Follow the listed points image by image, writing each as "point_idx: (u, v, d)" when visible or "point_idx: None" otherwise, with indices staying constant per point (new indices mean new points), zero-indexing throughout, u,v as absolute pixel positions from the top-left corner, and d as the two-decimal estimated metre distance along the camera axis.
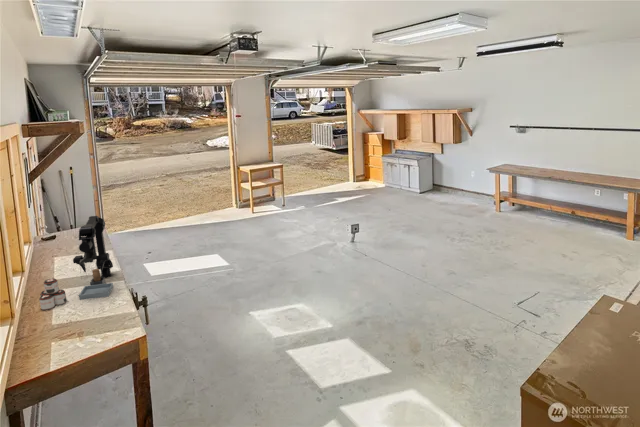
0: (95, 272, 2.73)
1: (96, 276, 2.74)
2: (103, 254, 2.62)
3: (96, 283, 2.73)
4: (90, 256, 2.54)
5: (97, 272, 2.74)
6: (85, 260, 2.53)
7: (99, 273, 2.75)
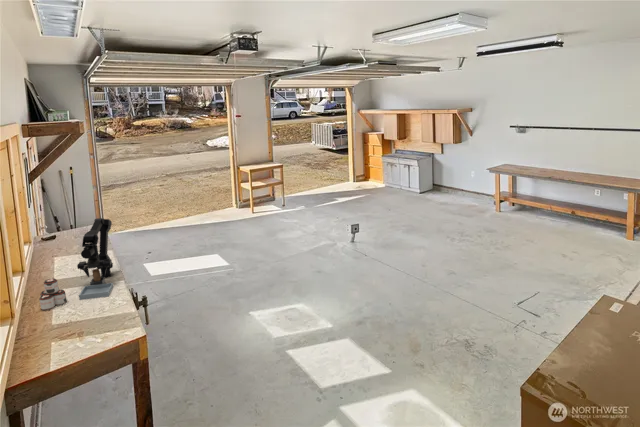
0: (95, 272, 2.73)
1: (96, 276, 2.74)
2: (106, 260, 2.75)
3: (96, 283, 2.73)
4: (93, 262, 2.67)
5: (97, 272, 2.74)
6: (89, 266, 2.65)
7: (99, 273, 2.75)
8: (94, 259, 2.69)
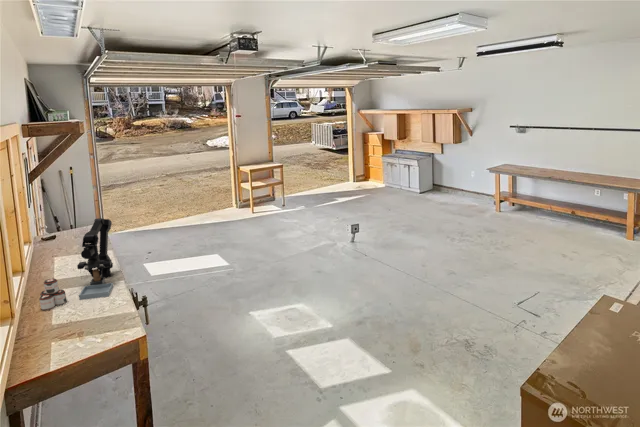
0: (95, 272, 2.73)
1: (96, 276, 2.74)
2: (106, 260, 2.75)
3: (96, 283, 2.73)
4: (93, 262, 2.67)
5: (97, 272, 2.74)
6: (89, 266, 2.65)
7: (99, 273, 2.75)
8: (94, 259, 2.69)
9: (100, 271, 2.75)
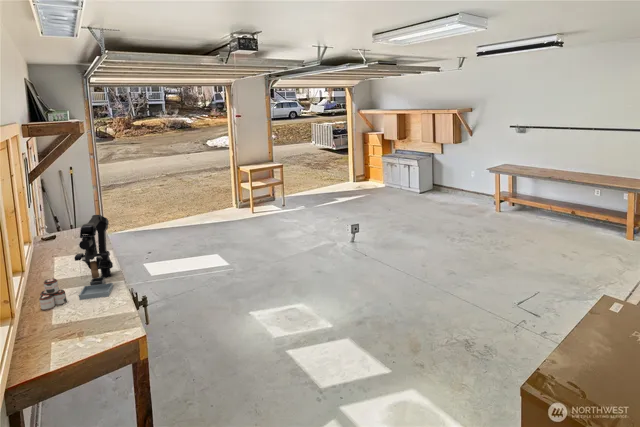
0: (93, 264, 2.67)
1: (94, 268, 2.68)
2: (104, 252, 2.69)
3: (96, 283, 2.73)
4: (91, 253, 2.61)
5: (95, 264, 2.68)
6: (86, 257, 2.60)
7: None
8: (92, 251, 2.63)
9: (98, 263, 2.69)
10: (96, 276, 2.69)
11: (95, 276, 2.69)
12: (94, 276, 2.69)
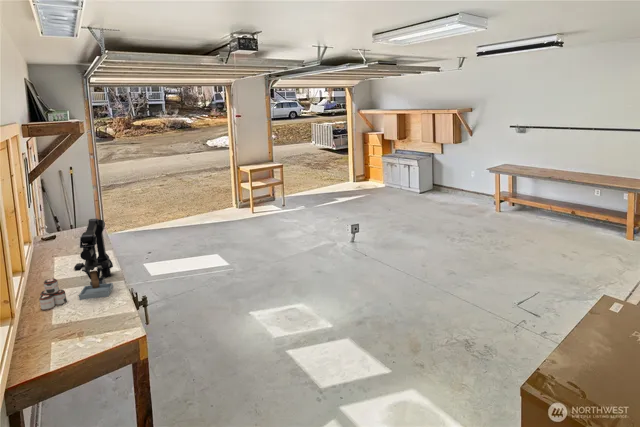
0: (93, 274, 2.61)
1: (94, 278, 2.61)
2: (104, 262, 2.62)
3: None
4: (91, 264, 2.54)
5: (95, 274, 2.61)
6: (86, 268, 2.53)
7: (97, 275, 2.63)
8: (92, 261, 2.56)
9: (98, 273, 2.62)
10: (96, 286, 2.63)
11: (95, 286, 2.63)
12: (94, 286, 2.62)
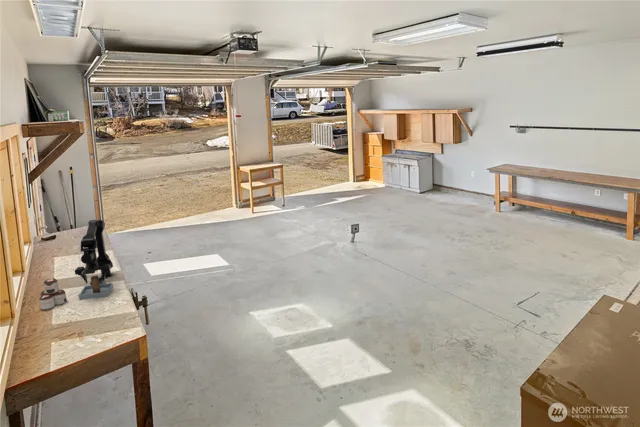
0: (94, 279, 2.61)
1: (95, 283, 2.62)
2: (105, 265, 2.63)
3: None
4: (92, 267, 2.55)
5: (96, 279, 2.62)
6: (87, 271, 2.53)
7: (98, 280, 2.64)
8: (92, 264, 2.57)
9: (103, 276, 2.63)
10: (97, 291, 2.64)
11: (96, 291, 2.63)
12: (95, 291, 2.63)
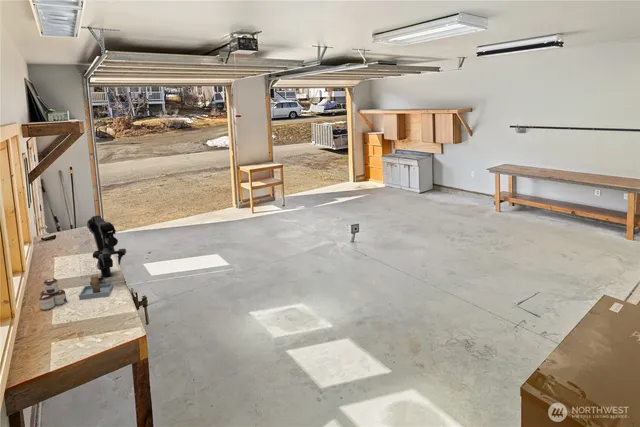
0: (94, 279, 2.61)
1: (95, 283, 2.62)
2: (120, 250, 2.77)
3: None
4: (108, 251, 2.69)
5: (96, 279, 2.62)
6: (104, 255, 2.68)
7: (98, 280, 2.64)
8: (109, 248, 2.71)
9: (119, 260, 2.77)
10: (97, 291, 2.64)
11: (96, 291, 2.63)
12: (95, 291, 2.63)
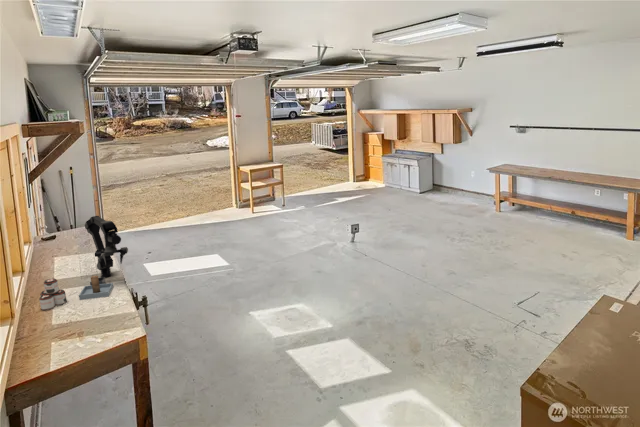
0: (94, 279, 2.61)
1: (95, 283, 2.62)
2: (122, 248, 2.78)
3: None
4: (111, 250, 2.71)
5: (96, 279, 2.62)
6: (106, 253, 2.69)
7: (98, 280, 2.64)
8: (111, 247, 2.73)
9: (121, 258, 2.79)
10: (97, 291, 2.64)
11: (96, 291, 2.63)
12: (95, 291, 2.63)
